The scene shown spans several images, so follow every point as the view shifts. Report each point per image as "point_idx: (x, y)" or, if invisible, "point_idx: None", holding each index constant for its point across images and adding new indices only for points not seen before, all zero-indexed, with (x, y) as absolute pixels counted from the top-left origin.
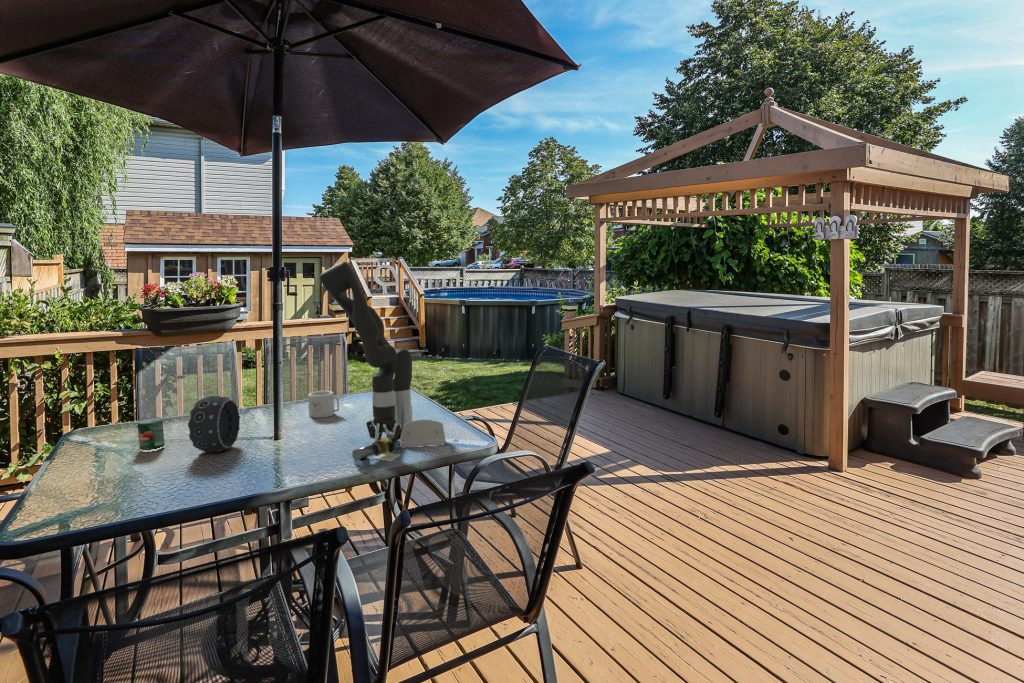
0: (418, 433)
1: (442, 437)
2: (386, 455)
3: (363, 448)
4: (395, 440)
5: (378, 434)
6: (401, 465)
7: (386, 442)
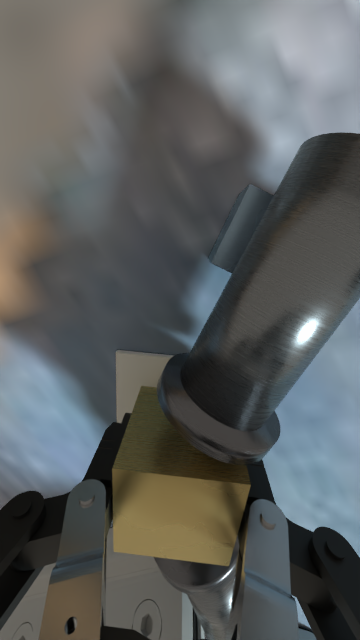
0: None
1: None
2: None
3: (308, 271)
4: (23, 501)
5: (242, 588)
6: (16, 306)
7: (118, 466)
